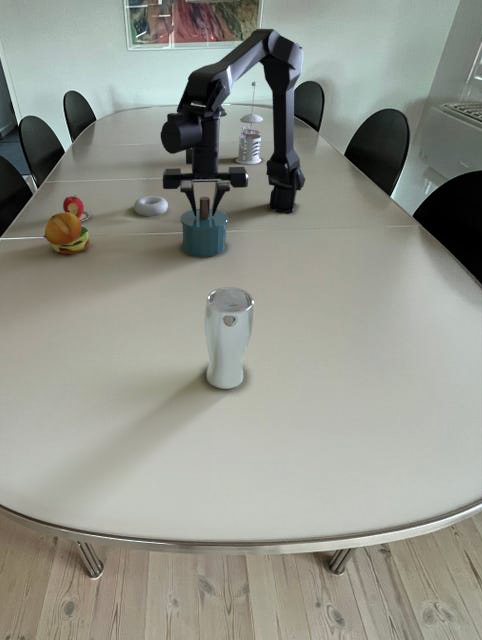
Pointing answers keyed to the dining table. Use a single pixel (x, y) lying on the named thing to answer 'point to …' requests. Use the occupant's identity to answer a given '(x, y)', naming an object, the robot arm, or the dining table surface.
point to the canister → (204, 241)
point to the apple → (75, 207)
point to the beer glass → (227, 334)
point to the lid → (204, 217)
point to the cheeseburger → (66, 233)
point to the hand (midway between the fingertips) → (204, 215)
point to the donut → (150, 206)
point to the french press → (249, 139)
